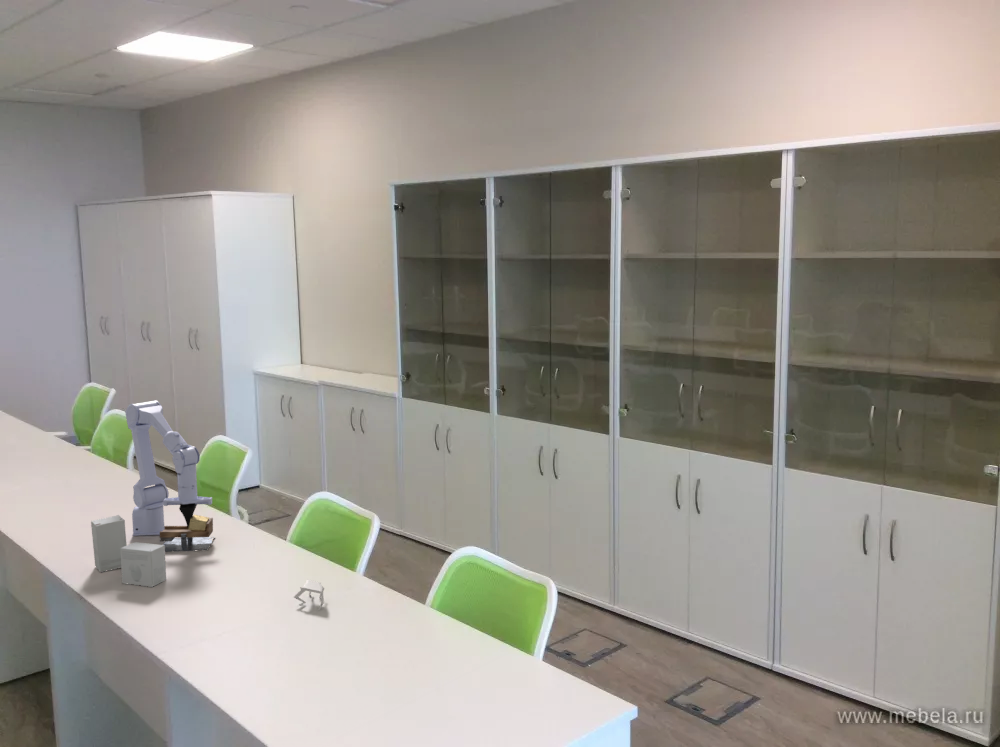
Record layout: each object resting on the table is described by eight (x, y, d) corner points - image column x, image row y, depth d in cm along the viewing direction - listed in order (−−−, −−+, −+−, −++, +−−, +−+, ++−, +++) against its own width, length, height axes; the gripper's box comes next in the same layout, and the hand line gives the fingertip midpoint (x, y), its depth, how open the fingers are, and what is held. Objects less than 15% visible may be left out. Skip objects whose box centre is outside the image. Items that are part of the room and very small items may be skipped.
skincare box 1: (123, 561, 255) (120, 514, 253) (129, 567, 251) (126, 519, 249) (93, 567, 250) (90, 519, 248) (98, 573, 245) (95, 524, 243)
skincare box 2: (167, 579, 242) (165, 544, 240) (152, 587, 236) (150, 551, 234) (136, 575, 244) (134, 540, 243) (121, 583, 238) (119, 548, 237)
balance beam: (159, 541, 266) (159, 523, 265) (165, 535, 272) (164, 517, 271) (208, 541, 268) (208, 523, 267) (212, 535, 274) (212, 517, 273)
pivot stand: (157, 552, 263) (156, 537, 263) (168, 539, 275) (167, 525, 274) (207, 550, 265) (206, 535, 264) (215, 537, 277) (214, 523, 276)
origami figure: (287, 602, 226) (286, 585, 225) (312, 593, 232) (312, 576, 232) (314, 615, 218) (313, 597, 218) (340, 605, 225) (339, 588, 224)
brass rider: (188, 530, 267) (190, 518, 267) (191, 526, 271) (194, 514, 271) (204, 533, 268) (206, 521, 267) (207, 529, 272) (209, 517, 271)
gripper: (160, 489, 263) (162, 531, 264) (208, 488, 264) (209, 529, 266) (166, 483, 269) (168, 524, 271) (213, 482, 271) (214, 522, 273)
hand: (189, 526), depth 269 cm, fingers closed, pressing on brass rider
